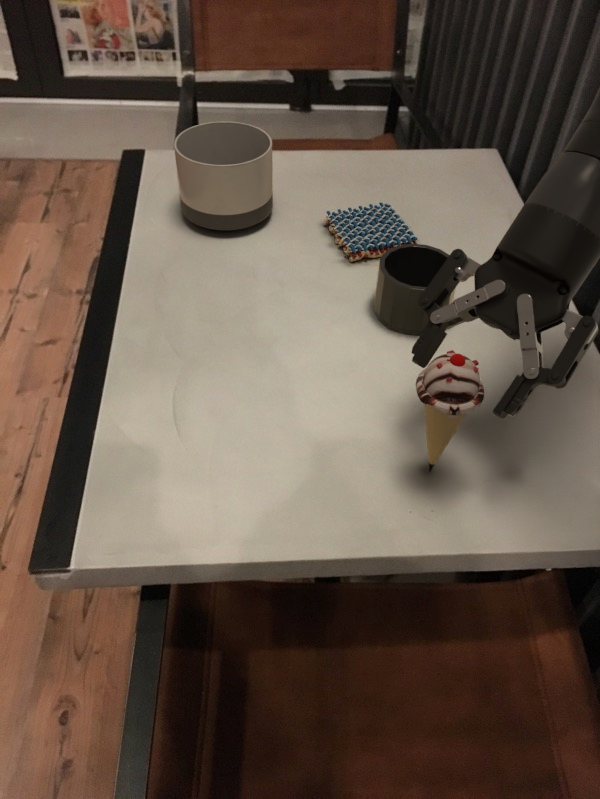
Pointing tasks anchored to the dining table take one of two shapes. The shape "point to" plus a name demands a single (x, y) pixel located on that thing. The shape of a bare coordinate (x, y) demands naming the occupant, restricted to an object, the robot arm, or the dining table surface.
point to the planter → (225, 174)
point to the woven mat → (369, 231)
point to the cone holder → (406, 286)
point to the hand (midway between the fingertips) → (456, 389)
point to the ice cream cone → (447, 398)
